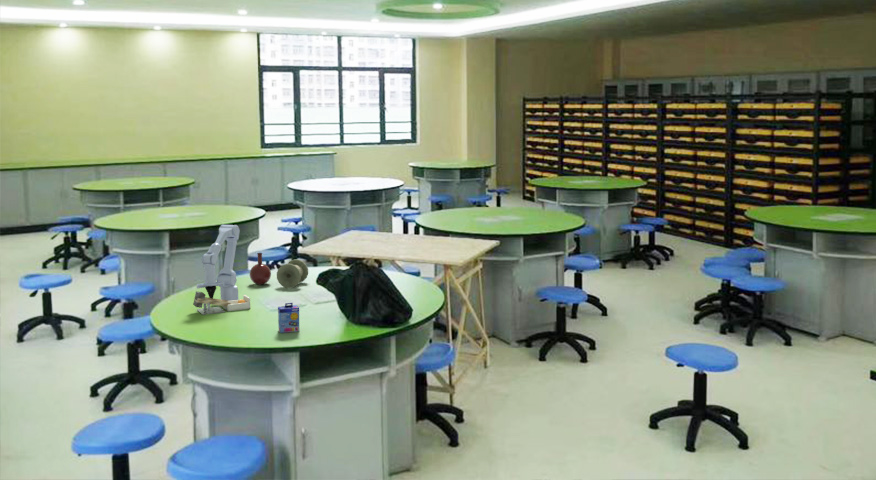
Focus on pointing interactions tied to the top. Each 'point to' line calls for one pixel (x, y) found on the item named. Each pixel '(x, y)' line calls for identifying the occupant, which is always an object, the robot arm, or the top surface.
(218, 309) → the lever stand
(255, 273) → the round-bottom flask
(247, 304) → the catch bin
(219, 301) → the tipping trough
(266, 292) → the top surface
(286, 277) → the spool
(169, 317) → the top surface
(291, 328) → the ink cartridge box
